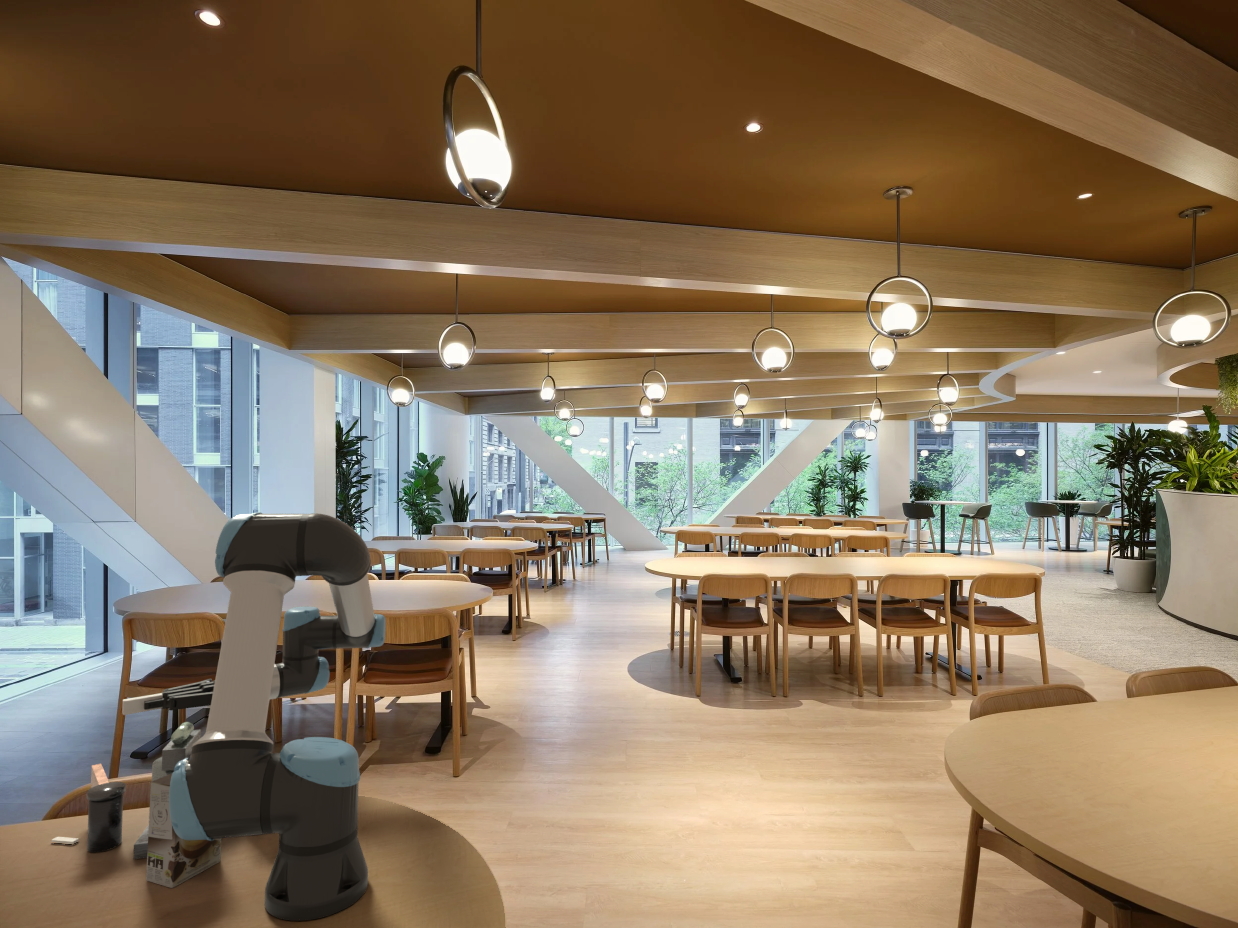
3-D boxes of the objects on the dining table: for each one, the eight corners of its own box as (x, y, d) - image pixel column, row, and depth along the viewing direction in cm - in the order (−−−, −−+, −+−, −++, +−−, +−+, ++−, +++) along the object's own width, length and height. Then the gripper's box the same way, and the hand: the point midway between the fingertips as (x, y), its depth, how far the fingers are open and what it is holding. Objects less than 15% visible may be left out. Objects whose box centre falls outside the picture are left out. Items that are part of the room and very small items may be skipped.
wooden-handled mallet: (125, 845, 126) (127, 788, 126) (86, 856, 122) (88, 797, 122) (112, 810, 139) (113, 759, 139) (76, 819, 135) (78, 766, 135)
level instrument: (205, 850, 125) (208, 733, 125) (133, 859, 122) (137, 739, 122) (220, 821, 135) (223, 714, 136) (154, 829, 132) (158, 719, 133)
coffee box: (173, 889, 113) (176, 787, 113) (144, 881, 115) (148, 781, 116) (222, 861, 121) (225, 766, 122) (195, 853, 124) (198, 760, 124)
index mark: (78, 841, 127) (78, 838, 127) (72, 844, 126) (72, 841, 126) (57, 839, 128) (57, 836, 128) (51, 843, 127) (51, 839, 127)
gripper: (262, 709, 149) (127, 735, 133) (245, 695, 159) (117, 717, 143) (262, 674, 149) (128, 695, 133) (245, 661, 159) (118, 680, 143)
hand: (123, 707), depth 138 cm, fingers closed
